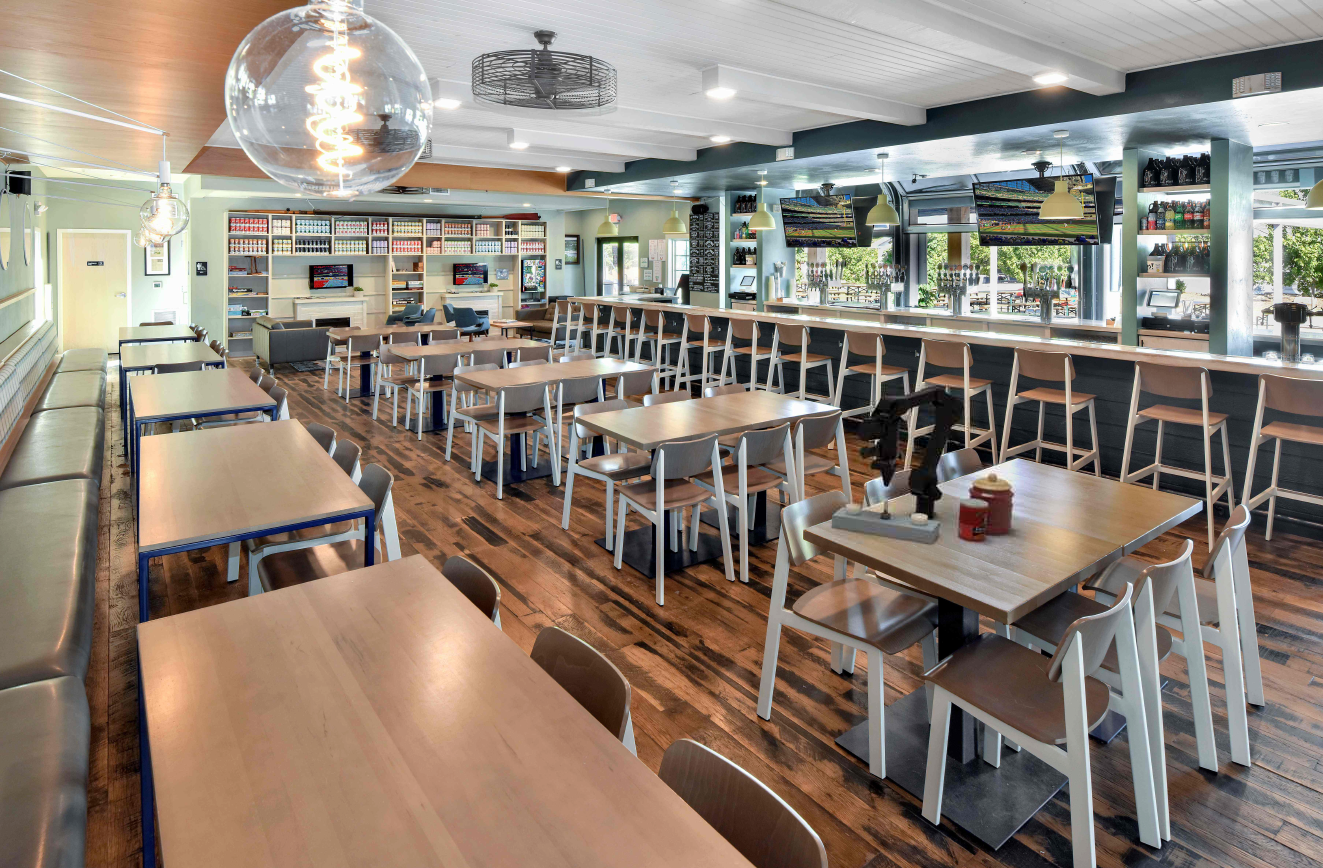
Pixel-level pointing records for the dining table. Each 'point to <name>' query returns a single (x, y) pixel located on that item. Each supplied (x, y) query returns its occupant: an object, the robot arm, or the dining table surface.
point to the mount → (886, 526)
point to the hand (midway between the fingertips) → (886, 486)
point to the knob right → (919, 519)
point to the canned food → (973, 519)
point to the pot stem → (885, 512)
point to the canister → (995, 502)
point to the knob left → (853, 509)
